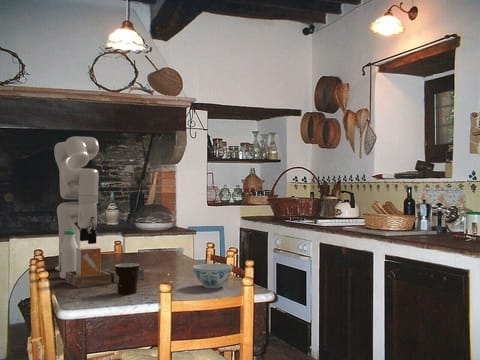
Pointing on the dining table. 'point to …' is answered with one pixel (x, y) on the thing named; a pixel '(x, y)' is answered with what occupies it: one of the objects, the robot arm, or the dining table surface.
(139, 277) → the frame
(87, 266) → the small box
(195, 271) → the chinaware
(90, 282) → the walnut trough
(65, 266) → the milk bottle
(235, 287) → the dining table surface
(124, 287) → the coffee mug
